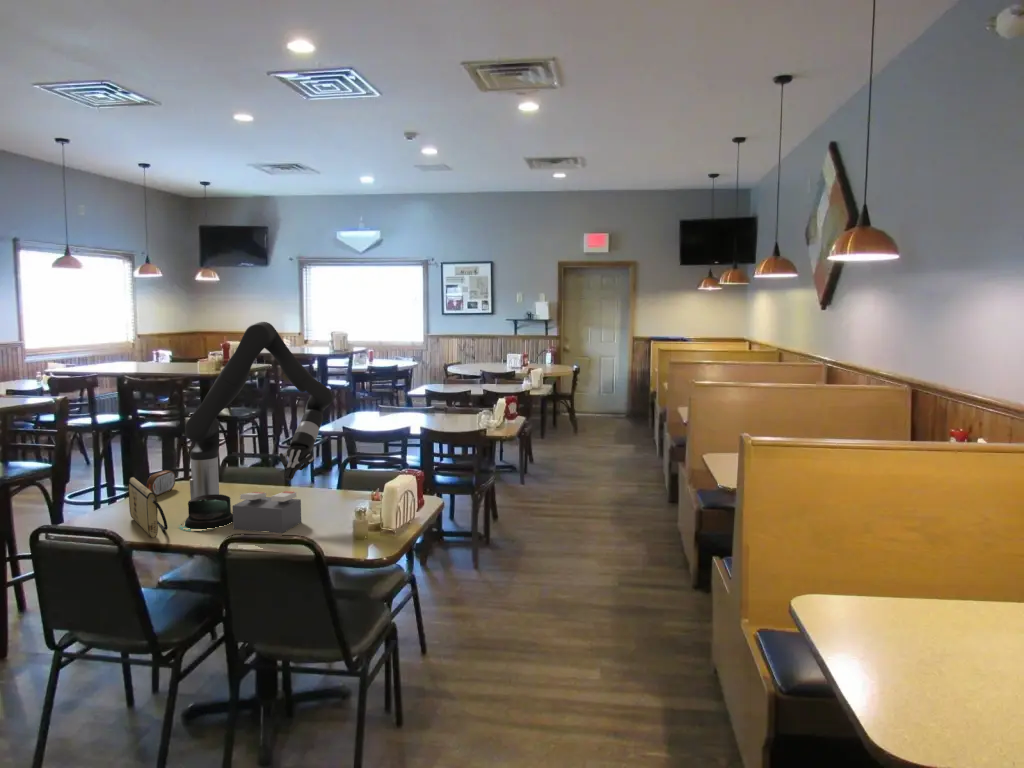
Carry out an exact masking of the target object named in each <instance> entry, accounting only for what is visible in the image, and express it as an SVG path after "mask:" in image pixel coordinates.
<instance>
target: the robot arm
mask: <svg viewBox="0 0 1024 768" xmlns="http://www.w3.org/2000/svg"><path fill="white" fill-rule="evenodd" d="M264 349H265V350H266V351H267V352H269V353H270V354H271V355H272V356H273V358H274V359H275V360H276V362H277V363H278V365H279V366H280V368H281V370H282V372H283V374H284V375H285V376H286V378H287V380H288V381H289V382H290V383H291V384H292V385H293V386H294V387H295V388H296V389H297V390H298V391H299V392H300V393H304V392H307V393H309V394H310V396H309V398H308V400H307V402H306V404H305V408H304V414H303V416H302V418H301V420H300V423H299V424H298V425H297V428H296V429H295V432H294V434H293V436H292V438H291V441H290V445H289V448H288V449H287V450H286V452H283V453H282V452H280V453H279V458H280V462H281V464H282V465H283V467H284V468H285V469H286V470H285V473H284V475H283V476H284V479H285V480H286V481H292V480H293V479H294V477H295V474H296V472H298V471H303V470H304V469H305V468H307V467H308V466H310V464H312V463H313V462H315V458H314V457H313V455H311V452H312V450H313V448H314V445H315V443H316V442H317V441H316V440H317V438H318V435H319V431H320V428H321V426H322V424H323V420H324V415H323V414H324V412H325V410H326V409H327V408H328V407H330V406H331V404H332V403H333V402H334V395H333V392H332V391H331V389H329V387H327V386H326V385H325V384H323V383H322V382H321V381H319V380H317V379H316V378H314V377H313V376H312V375H311V373H310V372H309V371H308V370H307V369H306V368H305V366H303V365H302V363H301V362H300V361H299V360H298V359H297V357H296V356H295V355H294V354H293V353H292V352H291V350H290V349H289V348H288V346H287V345H286V343H285V342H284V340H283V339H282V337H281V336H280V334H279V332H278V330H276V328H275V327H274V326H273V325H272V323H269V322H267V321H260V322H255V323H252V324H251V325H249V326H248V327H247V328H246V329H245V331H244V333H243V335H242V337H241V339H240V342H239V344H238V346H237V348H236V350H235V352H234V353H233V354H232V355H231V357H230V358H229V360H228V361H227V362H226V364H225V365H224V367H223V369H222V370H221V371H220V373H219V374H218V375H217V377H216V379H215V380H214V383H213V384H212V386H211V387H210V388H209V391H208V392H207V394H206V395H205V397H204V399H203V400H202V402H201V404H199V406H198V408H197V409H196V410H195V411H194V412H193V414H192V415H191V416H190V417H189V418H188V419H187V421H186V423H185V426H184V434H185V437H186V438H187V439H188V440H190V441H193V442H195V443H194V446H193V448H192V449H191V451H190V453H189V455H190V469H191V470H190V471H191V472H190V473H191V475H190V476H191V478H190V479H189V492H190V494H189V495H190V500H191V499H193V498H195V497H198V496H203V495H213V494H219V495H220V481H219V480H220V479H219V477H220V476H219V460H218V459H219V458H218V455H219V454H218V452H219V449H220V423H219V421H218V420H217V417H218V416H219V415H220V413H222V411H223V410H224V409H225V408H227V406H228V405H230V404H231V403H232V402H233V401H234V400H235V398H237V396H238V395H239V394H240V392H241V391H242V390H243V388H244V386H245V385H246V383H247V380H248V378H249V375H250V372H251V369H252V366H253V363H254V362H255V360H257V358H258V356H259V355H260V354H261V353H262V351H263V350H264Z"/></svg>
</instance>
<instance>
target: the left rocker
mask: <svg viewBox="0 0 1024 768" xmlns="http://www.w3.org/2000/svg"><path fill="white" fill-rule="evenodd" d="M239 497H240V498H239V499H240V500H256V499H262V498H266V497H267V492H265V491H264V492H261V491H260V492H259V491H253V492H247V493H241V494H240V495H239Z"/></svg>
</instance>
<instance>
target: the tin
mask: <svg viewBox="0 0 1024 768" xmlns="http://www.w3.org/2000/svg"><path fill="white" fill-rule="evenodd" d="M175 484H176V474H175V472H174V471H172V470H168V469H167V470H166V469H164V470H162V471H159V472H156V473H153V474H151V475H150V476H149V477H148V479H147V482H146V485H145V487H146V488H148V489H149V490H150V491H151V492H153V493H154V494H155V496H156V497H157V496H160V495H162V494H165V493H168V492H170V491H171V490H173V488H174V487H175ZM169 490H170V491H169ZM167 491H168V492H167Z"/></svg>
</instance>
